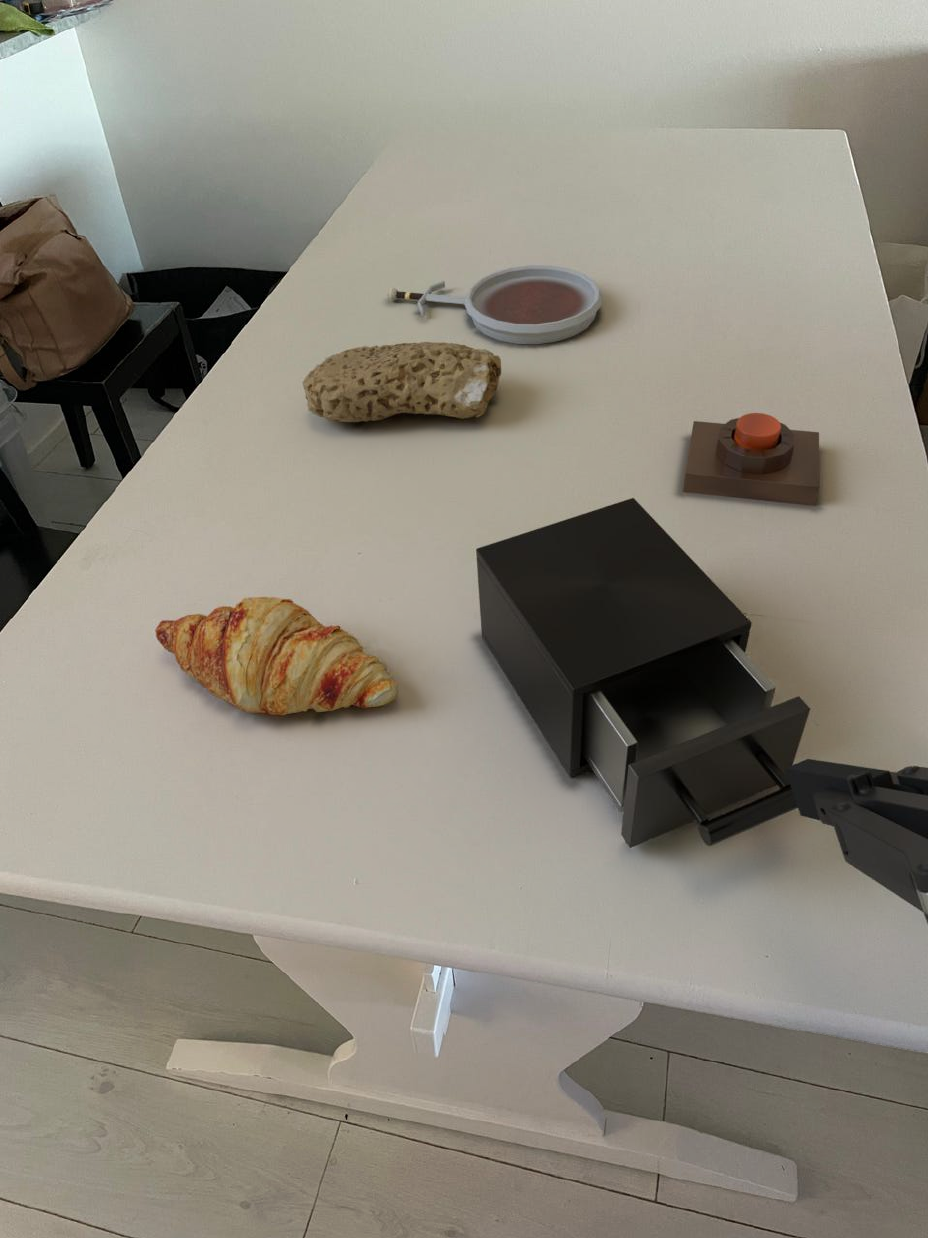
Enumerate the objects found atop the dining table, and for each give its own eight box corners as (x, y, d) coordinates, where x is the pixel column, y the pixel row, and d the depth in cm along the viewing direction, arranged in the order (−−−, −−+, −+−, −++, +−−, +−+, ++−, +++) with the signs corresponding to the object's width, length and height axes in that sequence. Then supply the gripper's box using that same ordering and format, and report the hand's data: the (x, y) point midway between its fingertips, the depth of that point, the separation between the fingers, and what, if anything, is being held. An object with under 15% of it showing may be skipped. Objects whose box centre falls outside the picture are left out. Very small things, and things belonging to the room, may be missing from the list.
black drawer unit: (732, 713, 69) (752, 622, 62) (570, 778, 66) (573, 690, 59) (625, 586, 80) (633, 497, 73) (481, 637, 76) (475, 548, 70)
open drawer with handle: (827, 829, 61) (856, 757, 55) (664, 902, 58) (677, 834, 52) (673, 644, 73) (683, 570, 68) (532, 696, 70) (531, 624, 65)
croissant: (416, 707, 76) (426, 615, 73) (368, 757, 67) (377, 654, 64) (190, 653, 81) (192, 565, 79) (117, 693, 72) (116, 595, 69)
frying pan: (408, 254, 125) (615, 266, 117) (411, 275, 127) (614, 288, 119) (361, 313, 113) (586, 330, 106) (364, 335, 115) (585, 353, 108)
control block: (814, 450, 92) (823, 416, 89) (814, 506, 86) (823, 470, 83) (691, 439, 94) (695, 405, 92) (682, 492, 88) (687, 457, 86)
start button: (778, 430, 88) (781, 414, 87) (777, 454, 86) (780, 438, 84) (735, 426, 89) (737, 410, 88) (732, 449, 87) (735, 434, 85)
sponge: (500, 391, 105) (334, 346, 107) (509, 337, 99) (332, 290, 100) (469, 474, 98) (292, 425, 100) (477, 423, 92) (287, 370, 93)
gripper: (1154, 1098, 26) (723, 898, 49) (1461, 916, 29) (921, 809, 52) (1072, 844, 26) (678, 763, 48) (1390, 688, 29) (880, 682, 52)
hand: (804, 787), depth 50 cm, fingers closed
